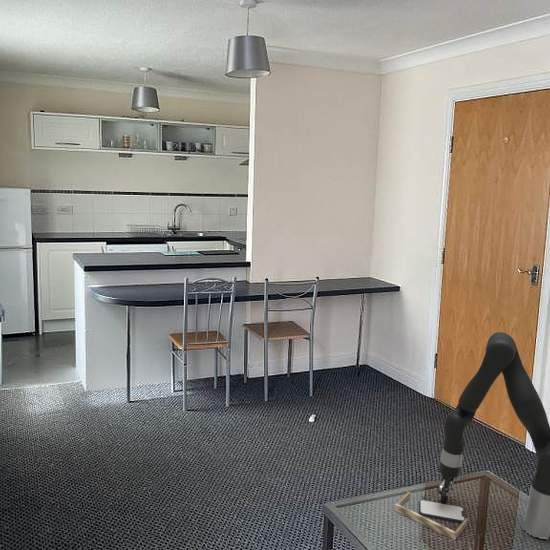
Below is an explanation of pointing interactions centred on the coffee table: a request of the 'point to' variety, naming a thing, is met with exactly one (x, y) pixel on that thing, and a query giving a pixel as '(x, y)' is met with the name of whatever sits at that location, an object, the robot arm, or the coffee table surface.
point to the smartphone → (441, 511)
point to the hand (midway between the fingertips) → (443, 502)
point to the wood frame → (426, 521)
